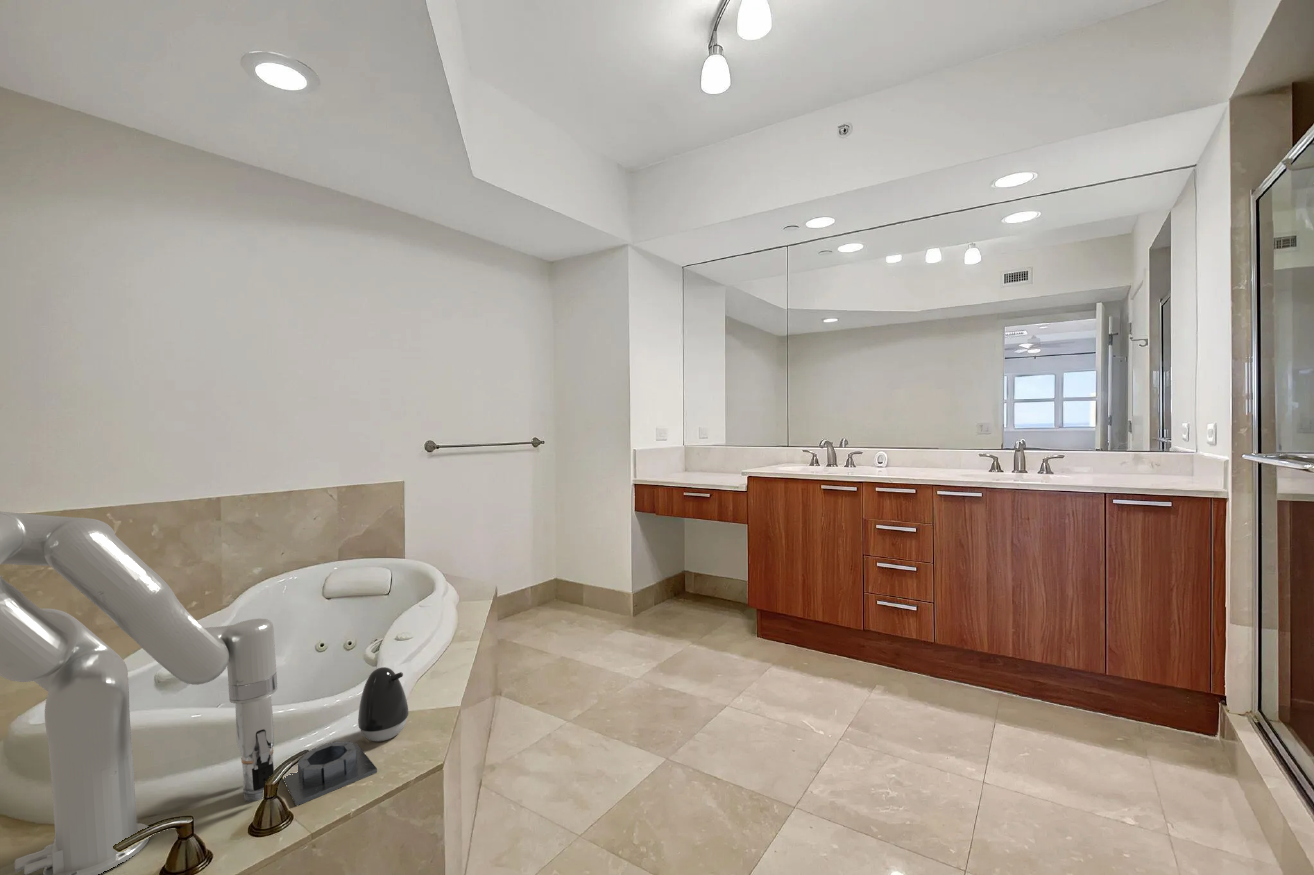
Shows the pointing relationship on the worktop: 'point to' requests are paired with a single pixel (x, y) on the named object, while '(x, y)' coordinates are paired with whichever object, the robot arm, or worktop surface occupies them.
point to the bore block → (328, 770)
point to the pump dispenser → (382, 705)
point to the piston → (248, 780)
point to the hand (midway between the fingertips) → (259, 776)
